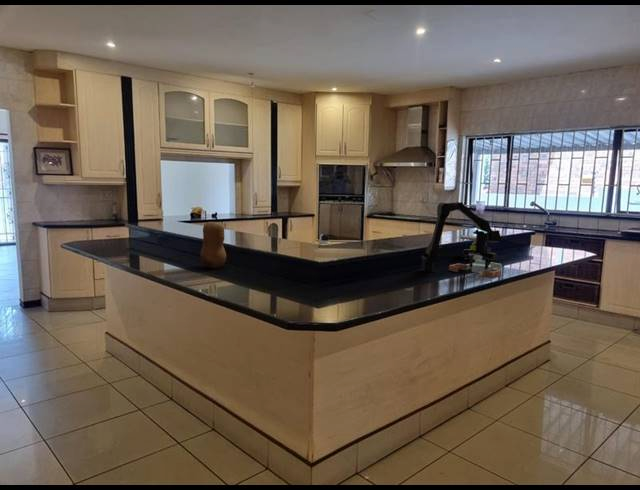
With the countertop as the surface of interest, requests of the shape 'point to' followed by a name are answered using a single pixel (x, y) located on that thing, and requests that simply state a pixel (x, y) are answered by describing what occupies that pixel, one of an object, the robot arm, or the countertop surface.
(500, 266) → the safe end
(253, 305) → the countertop surface
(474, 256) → the tea box
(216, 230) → the butternut squash
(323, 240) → the container
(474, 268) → the block
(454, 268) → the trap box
